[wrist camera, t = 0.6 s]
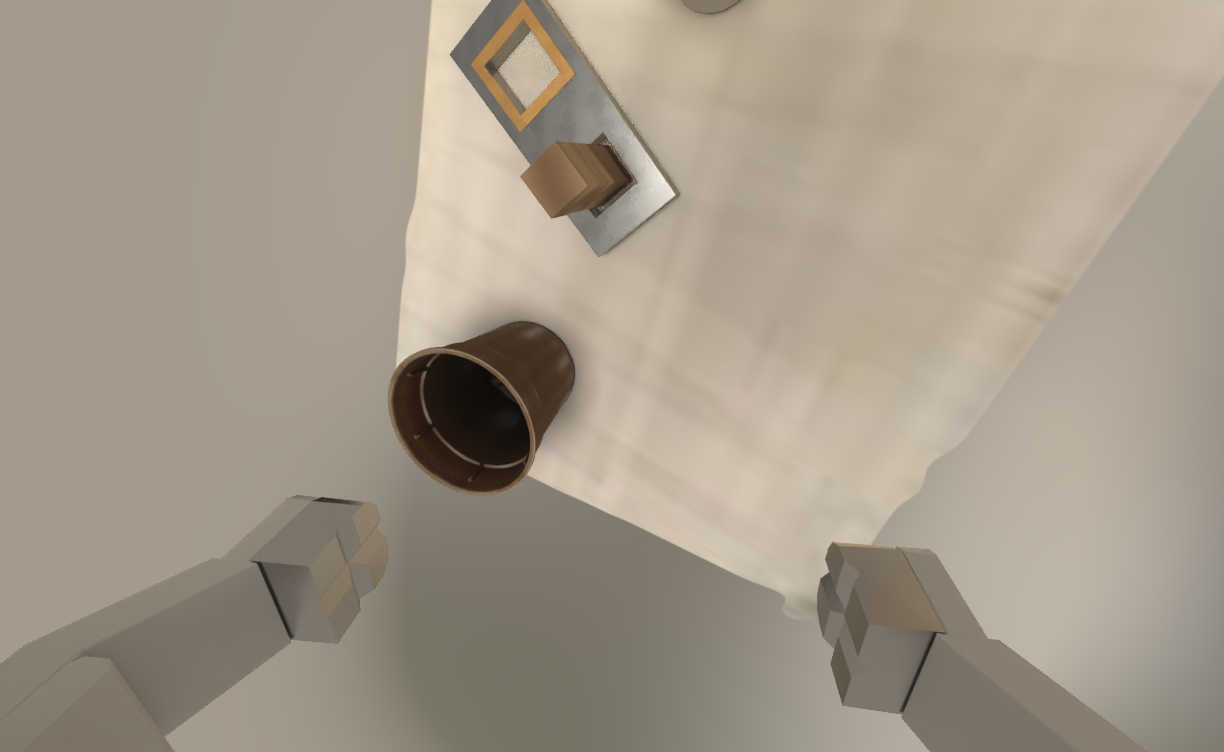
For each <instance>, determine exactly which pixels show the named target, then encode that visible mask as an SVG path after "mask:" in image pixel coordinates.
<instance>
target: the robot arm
mask: <svg viewBox="0 0 1224 752" xmlns="http://www.w3.org/2000/svg"><path fill="white" fill-rule="evenodd" d="M380 520H381V518H380V515H379V512H378V509H377V506H376V505H374V504H372V503H369V502H361V501H351V500H342V499H334V498H325V497H320V498H318V497H311V496H302V495H296V496H293V497H290V498H287V499H286V500H285V501H284V502H283V503H281V505H279V506H278V507H277V508H276V509H275V510H274V511H273V512H272V513H271V514H269V515H268V516H267V517H266V518H265V519H264V520H263V521H262V522H261V523H260V524H258V525H257V526H256V527H255V528H254V529H253V530H252V531H251V532H250V533H249V534H247V535H246V536H245V537H244V538H243V539H242V540H241V541H240V542H239V543H238V544H236V545H235V546H234V547H233V548H232V549H231V550H230V551H229V552H228V553H227V554H225V556H223V557H222V558H221V559H215V558H212V559H210V560H208V561H205V562H203V563H201V564H199V565H197V566H195V567H192V568H190V569H188V570H186V571H184V572H182V573H180V574H177V575H175V576H173V577H171V578H169V579H167V580H164V581H162V582H160V583H158V584H156V585H153V586H151V587H149V588H147V589H145V590H143V591H140V592H138V593H136V594H134V595H132V596H130V597H128V598H125V599H123V600H121V601H119V602H117V603H114V604H113V605H110V606H108V607H106V608H104V609H101V610H99V611H97V612H95V613H93V614H91V615H88V616H87V617H84V618H82V619H80V620H78V621H75V622H73V623H71V624H69V625H67V626H65V627H62V628H60V629H58V630H56V631H54V632H52V633H50V634H47V635H45V636H43V637H41V638H39V639H37V640H35V641H32V642H30V643H28V644H26V645H24V646H23V647H22V648H20V649H19V650H18V651H16V652H15V653H14V654H13V655H11V656H10V657H9V658H7V659H6V660H5V661H4V662H2V663H1V664H0V752H174V750H173V749H172V747H171V746H170V744H169V743H168V742H167V740H166V739H165V736H166V735H167V734H169V733H170V732H172V731H173V730H174V729H176V728H177V727H178V726H180V725H181V724H182V723H184V722H185V721H186V720H188V719H189V718H190V717H192V716H193V715H194V714H196V713H197V712H198V711H200V710H201V709H203V708H204V707H205V706H206V705H208V704H209V703H210V702H212V701H213V700H214V699H216V698H217V697H219V696H220V695H221V694H223V693H224V692H225V691H226V690H228V689H229V688H231V687H232V686H233V685H235V684H236V683H237V682H239V681H240V680H241V679H243V678H244V677H245V676H247V675H248V674H250V673H251V672H252V671H253V670H255V669H256V668H258V667H259V666H260V665H262V664H263V663H264V662H266V661H267V660H268V659H270V658H271V657H272V656H274V655H275V654H276V653H278V652H279V651H280V650H282V649H283V648H284V647H285V646H287V645H288V644H290V643H291V640H301V641H312V642H324V643H335V644H338V642H339V641H340V639H341V638H342V636H343V635H344V634H345V632H346V631H347V629H348V628H349V626H350V625H351V623H352V622H353V620H354V619H355V617H356V616H357V614H358V613H359V612H360V600H359V599H360V598H362V597H363V596H365V595H366V594H368V593H370V592H371V591H373V590H374V589H375V588H376V586H377V585H378V583H379V582H380V580H381V579H382V577H383V575H384V572H385V569H386V565H387V562H388V544H387V540H386V537H385V536H384V535H383V534H382V533H381V532H380V531H379V530H378V529H377V528H376V527H377V525H378V523H379V522H380ZM825 560H826V563H827V566H828V569H829V573H827V574H826V575H825V576H823V577H822V578H821V579H820V584H819V588H818V593H817V611H818V617H819V624H820V627H821V631H822V635H823V638H824V639H825V640H826V641H827V642H828V643H829V644H830V645H831V646H832V647H833V648H834V653H833V656H832V660H831V667H832V671H833V674H834V677H835V681H836V684H837V688H838V691H839V695H840V698H841V702H842V705H843V706H849V707H856V708H862V709H869V710H876V711H882V712H889V713H896V714H902V719H903V720H904V721H905V722H906V723H907V725H908V726H909V727H910V728H911V729H912V731H913V732H914V733H915V734H916V735H917V737H918V738H919V739H920V740H921V741H922V743H923V744H924V745H925V746H926V747H927V749H928V750H929V751H930V752H1148V751H1147V750H1145V749H1144V748H1143V747H1141V746H1140V745H1138V744H1137V743H1136V742H1135V741H1133V740H1132V739H1130V738H1129V737H1128V736H1127V735H1125V734H1124V733H1123V732H1121V731H1120V730H1119V729H1117V728H1116V727H1115V726H1113V725H1112V724H1111V723H1109V722H1108V721H1107V720H1105V719H1104V718H1103V717H1101V716H1100V715H1099V714H1097V713H1096V712H1095V711H1093V710H1092V709H1091V708H1089V707H1088V706H1086V705H1085V704H1084V703H1082V702H1081V701H1080V700H1079V699H1077V698H1076V697H1075V696H1073V695H1072V694H1071V693H1069V692H1068V691H1066V690H1065V689H1064V688H1063V687H1061V686H1060V685H1059V684H1057V683H1056V682H1054V681H1053V680H1052V679H1050V678H1049V677H1048V676H1047V675H1045V674H1044V673H1042V672H1041V671H1040V670H1039V669H1037V668H1036V667H1035V666H1033V665H1032V664H1030V663H1029V662H1028V661H1026V660H1025V659H1024V658H1022V657H1021V656H1020V655H1018V654H1017V653H1016V652H1014V651H1013V650H1012V649H1010V648H1009V647H1008V646H1006V645H1005V644H1004V643H1002V642H1001V641H1000V640H994V639H988V638H987V636H986V635H985V633H984V631H983V629H982V628H981V626H980V625H979V623H978V622H977V620H976V618H975V617H974V615H973V613H972V612H971V610H970V608H969V607H968V605H967V604H966V602H965V600H964V599H963V597H962V596H961V594H960V592H959V591H958V589H957V587H956V586H955V584H954V583H953V581H952V579H951V578H950V576H949V574H948V573H947V571H946V570H945V568H944V566H943V565H942V563H941V561H940V560H939V558H938V557H937V555H936V554H935V553H934V552H932V551H931V550H930V549H920V548H906V547H895V548H894V547H887V546H875V545H863V544H850V543H837V542H832V544H831V545H830V546H829V548H828V551H827V555H826V559H825Z"/></svg>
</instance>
